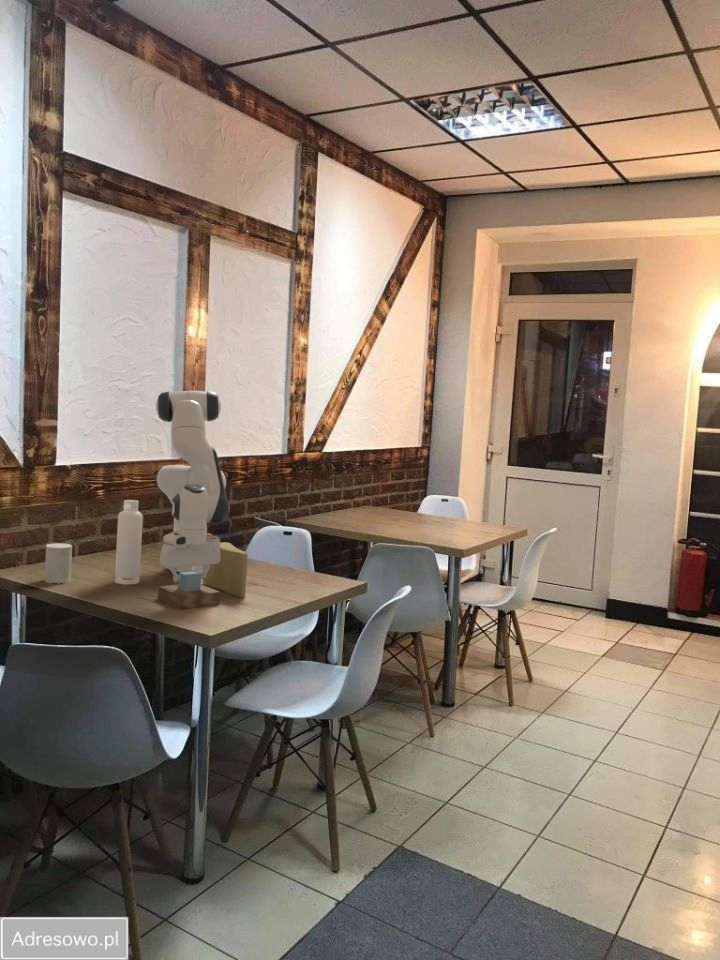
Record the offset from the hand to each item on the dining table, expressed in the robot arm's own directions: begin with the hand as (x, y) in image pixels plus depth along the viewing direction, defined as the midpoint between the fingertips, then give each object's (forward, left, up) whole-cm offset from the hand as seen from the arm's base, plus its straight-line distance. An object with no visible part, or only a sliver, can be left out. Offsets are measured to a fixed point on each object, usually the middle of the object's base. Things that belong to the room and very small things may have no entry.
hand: (189, 579), depth 251 cm
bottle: (+5, -32, -7) cm, 33 cm away
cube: (0, 0, -3) cm, 3 cm away
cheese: (-20, -7, -7) cm, 22 cm away
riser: (0, 0, -7) cm, 7 cm away
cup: (+25, -42, -7) cm, 49 cm away
